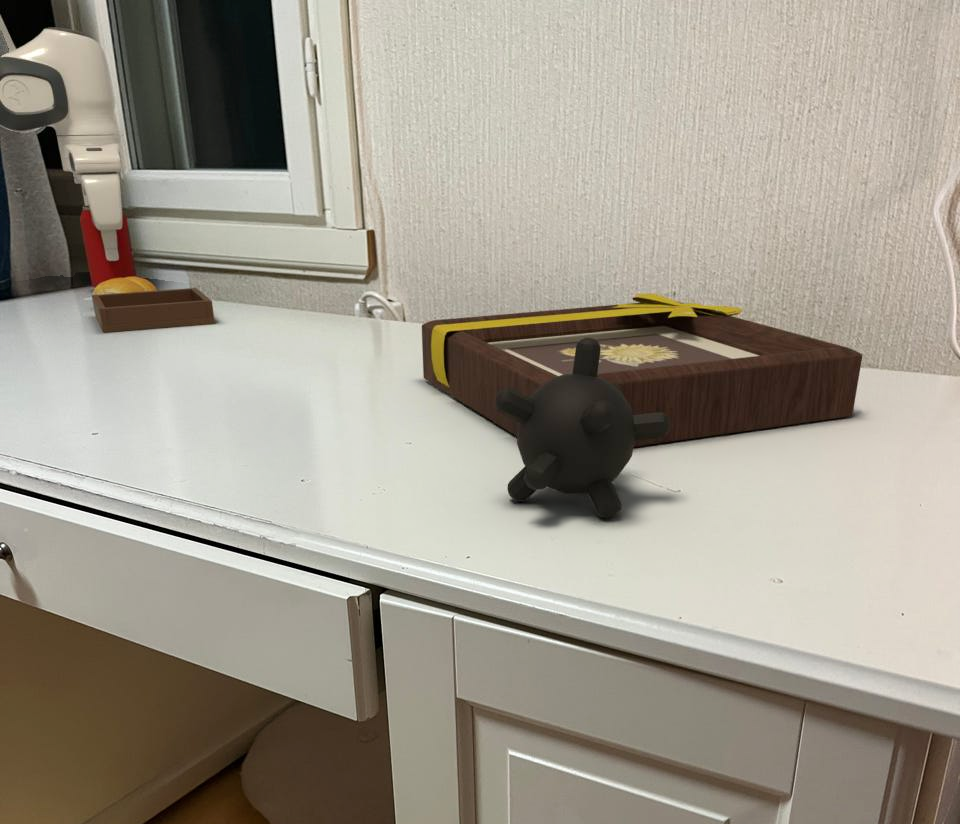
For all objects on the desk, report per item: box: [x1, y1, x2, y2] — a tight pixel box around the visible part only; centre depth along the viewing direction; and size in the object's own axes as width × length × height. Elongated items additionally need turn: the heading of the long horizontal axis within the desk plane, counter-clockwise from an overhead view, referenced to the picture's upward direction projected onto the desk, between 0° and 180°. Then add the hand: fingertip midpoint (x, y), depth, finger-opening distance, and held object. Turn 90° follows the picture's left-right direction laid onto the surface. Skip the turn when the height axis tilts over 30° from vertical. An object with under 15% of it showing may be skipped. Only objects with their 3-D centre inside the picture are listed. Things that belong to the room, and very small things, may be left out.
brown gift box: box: [421, 293, 863, 448], centre depth 88 cm, size 28×7×30 cm
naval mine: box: [494, 338, 670, 519], centre depth 63 cm, size 11×11×12 cm
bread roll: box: [91, 276, 158, 303], centre depth 138 cm, size 8×9×4 cm
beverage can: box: [79, 205, 137, 288], centre depth 151 cm, size 7×7×12 cm
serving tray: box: [91, 287, 216, 333], centre depth 128 cm, size 14×13×3 cm
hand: (110, 257), depth 152 cm, fingers closed on beverage can, 7 cm apart
